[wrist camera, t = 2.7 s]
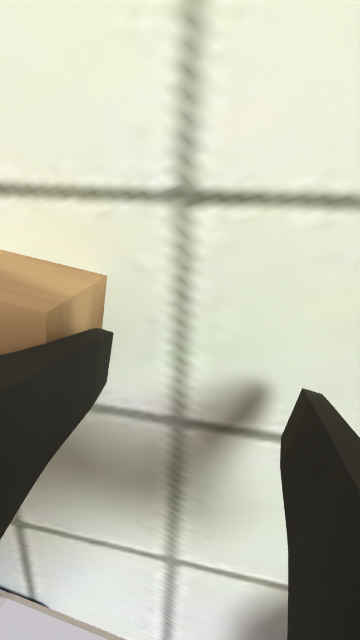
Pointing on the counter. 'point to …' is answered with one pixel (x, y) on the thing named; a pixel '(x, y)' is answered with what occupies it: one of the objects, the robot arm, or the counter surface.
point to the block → (46, 301)
